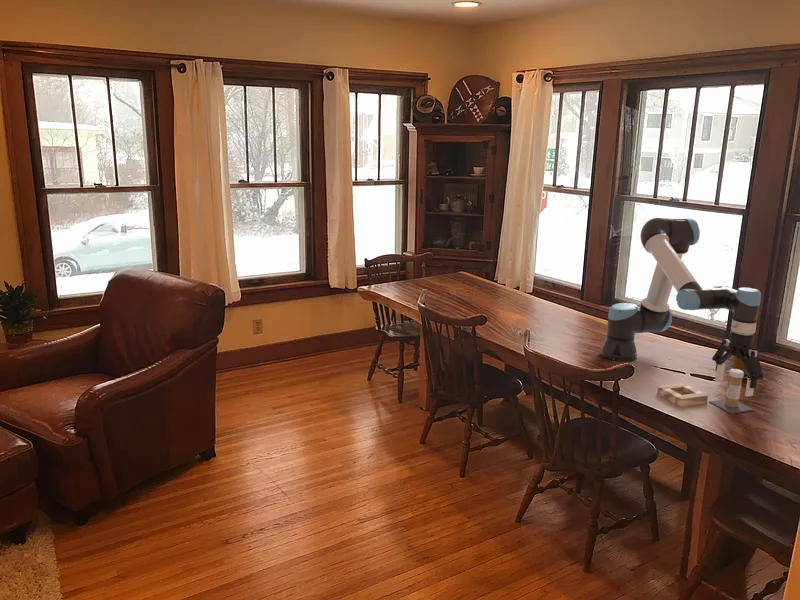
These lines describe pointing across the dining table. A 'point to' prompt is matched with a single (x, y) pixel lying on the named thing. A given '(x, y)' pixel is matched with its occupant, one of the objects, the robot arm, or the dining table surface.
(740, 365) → the condiment
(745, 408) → the coaster
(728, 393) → the sprinkles bottle
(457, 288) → the dining table surface
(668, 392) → the frame
